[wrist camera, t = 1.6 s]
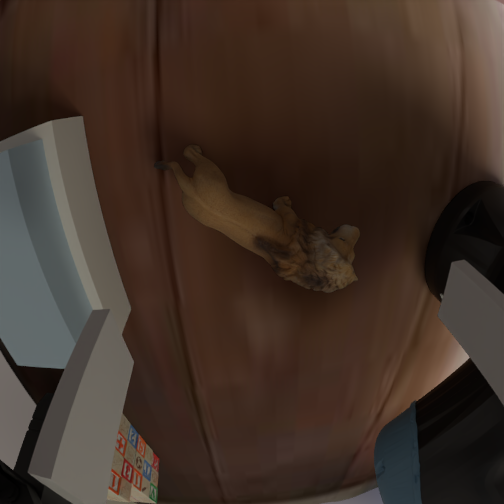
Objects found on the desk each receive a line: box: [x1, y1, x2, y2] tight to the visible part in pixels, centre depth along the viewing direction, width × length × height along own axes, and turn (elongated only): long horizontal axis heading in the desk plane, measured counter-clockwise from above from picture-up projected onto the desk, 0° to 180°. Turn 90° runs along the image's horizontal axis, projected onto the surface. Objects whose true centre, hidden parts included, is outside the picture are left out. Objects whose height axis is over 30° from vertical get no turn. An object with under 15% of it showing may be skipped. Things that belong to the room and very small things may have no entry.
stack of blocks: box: [107, 413, 159, 503], centre depth 32 cm, size 21×6×12 cm, turn 8°
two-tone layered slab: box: [0, 116, 131, 369], centre depth 20 cm, size 10×18×9 cm, turn 5°
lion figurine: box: [154, 145, 360, 293], centre depth 20 cm, size 15×5×9 cm, turn 66°
